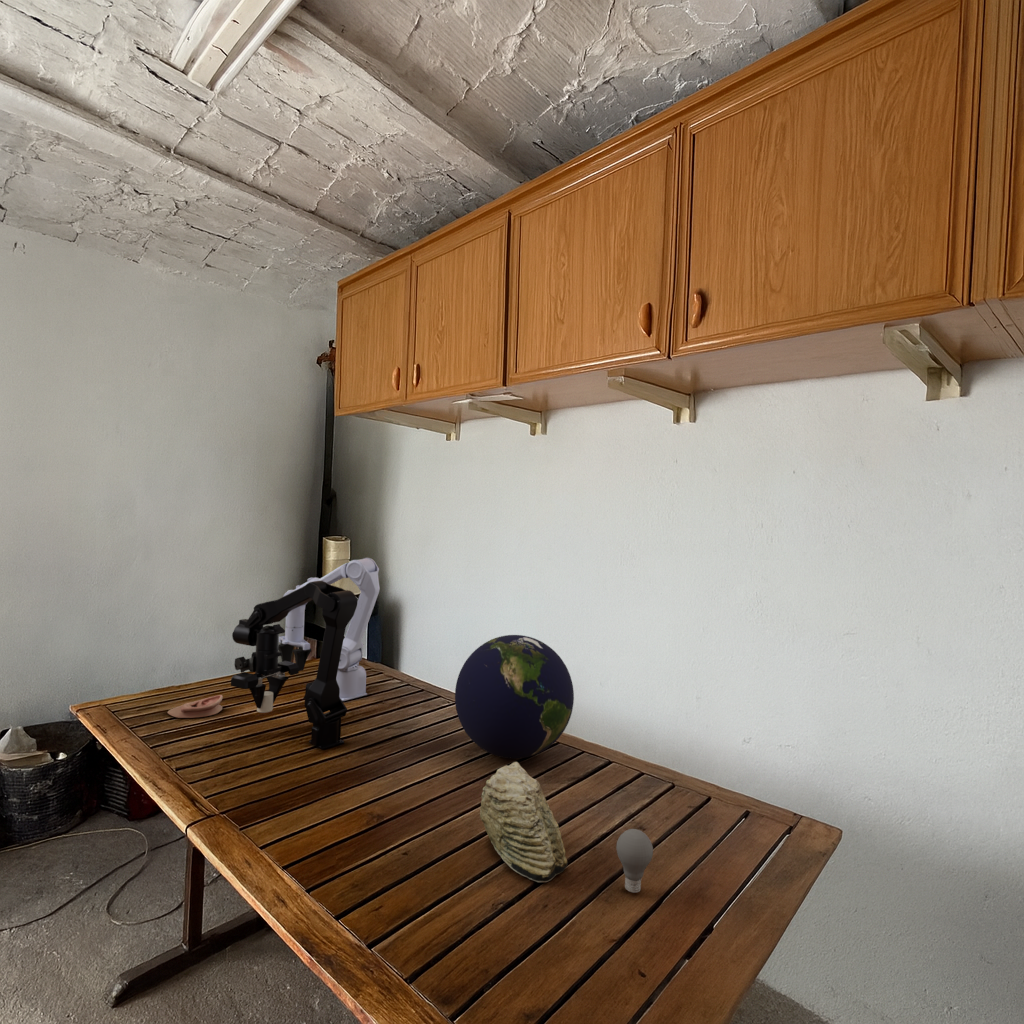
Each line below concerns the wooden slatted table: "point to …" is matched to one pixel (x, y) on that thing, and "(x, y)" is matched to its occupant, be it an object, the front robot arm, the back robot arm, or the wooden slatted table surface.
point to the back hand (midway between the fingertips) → (293, 668)
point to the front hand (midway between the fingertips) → (265, 705)
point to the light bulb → (634, 857)
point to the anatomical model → (198, 708)
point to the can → (266, 703)
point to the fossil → (522, 824)
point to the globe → (514, 696)
